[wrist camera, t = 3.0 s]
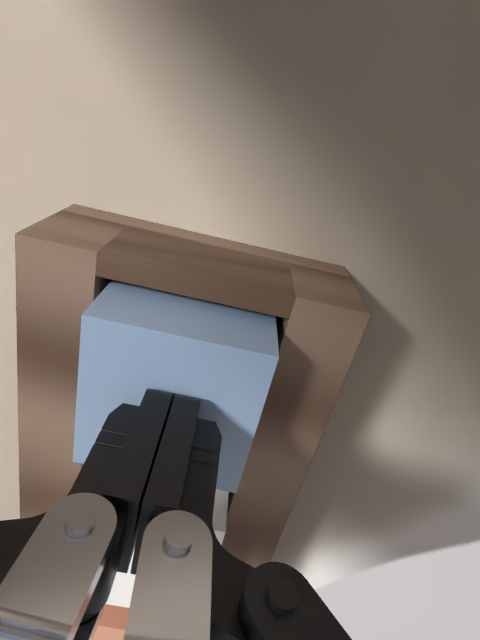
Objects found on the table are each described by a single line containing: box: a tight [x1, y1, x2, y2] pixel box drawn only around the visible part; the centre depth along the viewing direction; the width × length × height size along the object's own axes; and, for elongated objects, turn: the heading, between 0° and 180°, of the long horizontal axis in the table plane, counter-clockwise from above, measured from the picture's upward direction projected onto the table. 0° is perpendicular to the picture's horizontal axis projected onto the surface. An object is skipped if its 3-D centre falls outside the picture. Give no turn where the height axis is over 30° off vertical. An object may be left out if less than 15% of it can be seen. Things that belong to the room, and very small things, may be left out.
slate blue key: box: [73, 280, 279, 493], centre depth 13 cm, size 5×5×3 cm
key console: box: [15, 204, 371, 568], centre depth 18 cm, size 20×10×4 cm, turn 167°
